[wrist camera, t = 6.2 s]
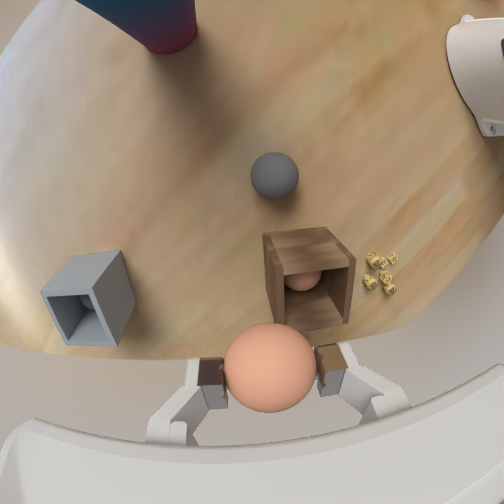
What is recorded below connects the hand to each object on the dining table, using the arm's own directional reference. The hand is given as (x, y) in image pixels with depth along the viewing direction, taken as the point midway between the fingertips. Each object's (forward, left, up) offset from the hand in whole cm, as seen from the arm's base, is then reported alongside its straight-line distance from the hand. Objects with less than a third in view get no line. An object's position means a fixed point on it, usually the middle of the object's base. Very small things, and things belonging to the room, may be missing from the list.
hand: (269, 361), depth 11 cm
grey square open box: (+16, +4, -16) cm, 23 cm away
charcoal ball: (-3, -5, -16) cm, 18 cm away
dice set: (-15, +7, -17) cm, 24 cm away
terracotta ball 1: (0, 0, -2) cm, 2 cm away
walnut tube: (-5, +4, -16) cm, 17 cm away
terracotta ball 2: (-5, +4, -16) cm, 17 cm away
